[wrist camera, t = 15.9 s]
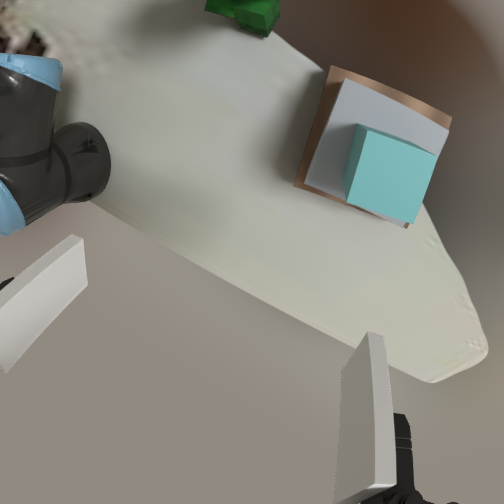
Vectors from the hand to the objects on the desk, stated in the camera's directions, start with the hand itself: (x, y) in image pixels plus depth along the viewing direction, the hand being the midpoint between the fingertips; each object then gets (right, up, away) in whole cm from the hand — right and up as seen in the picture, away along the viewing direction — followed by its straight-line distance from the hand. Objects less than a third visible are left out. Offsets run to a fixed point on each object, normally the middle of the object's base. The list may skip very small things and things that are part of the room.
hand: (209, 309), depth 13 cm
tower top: (+16, +15, +21) cm, 30 cm away
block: (+14, +12, +16) cm, 24 cm away
